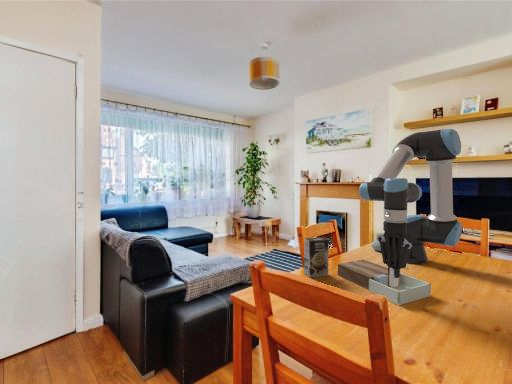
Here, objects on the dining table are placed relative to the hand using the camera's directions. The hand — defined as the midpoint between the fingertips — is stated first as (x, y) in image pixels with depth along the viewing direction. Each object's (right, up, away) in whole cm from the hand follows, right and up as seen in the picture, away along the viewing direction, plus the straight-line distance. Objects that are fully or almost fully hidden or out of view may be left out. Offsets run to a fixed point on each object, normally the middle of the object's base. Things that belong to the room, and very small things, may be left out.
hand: (393, 285), depth 99 cm
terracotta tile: (+3, 0, +9) cm, 10 cm away
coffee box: (-23, -3, +23) cm, 33 cm away
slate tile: (-3, -1, +6) cm, 6 cm away
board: (-3, -3, +16) cm, 17 cm away
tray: (+3, -4, +2) cm, 5 cm away
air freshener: (+23, -1, +60) cm, 64 cm away
